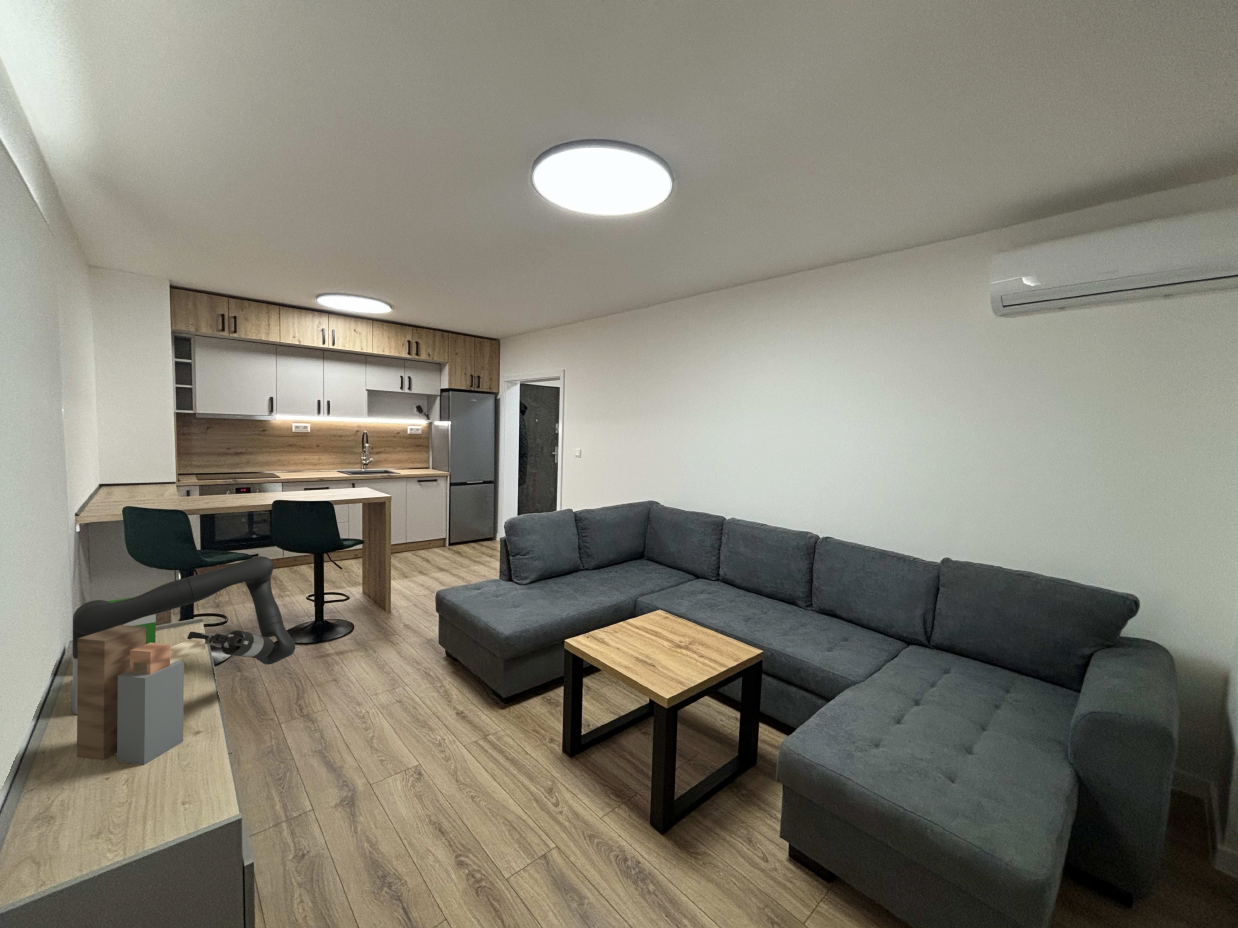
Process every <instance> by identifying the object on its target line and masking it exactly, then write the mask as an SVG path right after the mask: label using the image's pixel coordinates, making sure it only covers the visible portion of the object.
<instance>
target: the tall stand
mask: <svg viewBox="0 0 1238 928" xmlns="http://www.w3.org/2000/svg"><path fill="white" fill-rule="evenodd" d="M143 645H146V627H141V626H128V625H119V626H116V627H113V628H110V629H106V630H103V631H100V632H97V633H94V634H91V635H87V636H84V637H81V638H78V666H77V714H76V758H78V759H79V758H80V759H81V758H82V759H88V760H89V759H90V760H98V761H105V760H107V759H108V758H111V757H112V756H114V755H117V717H118V675H121V674H123V673H126V672H128V671H130V650H132V649H135V648H137V647H140V646H143Z"/></svg>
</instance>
